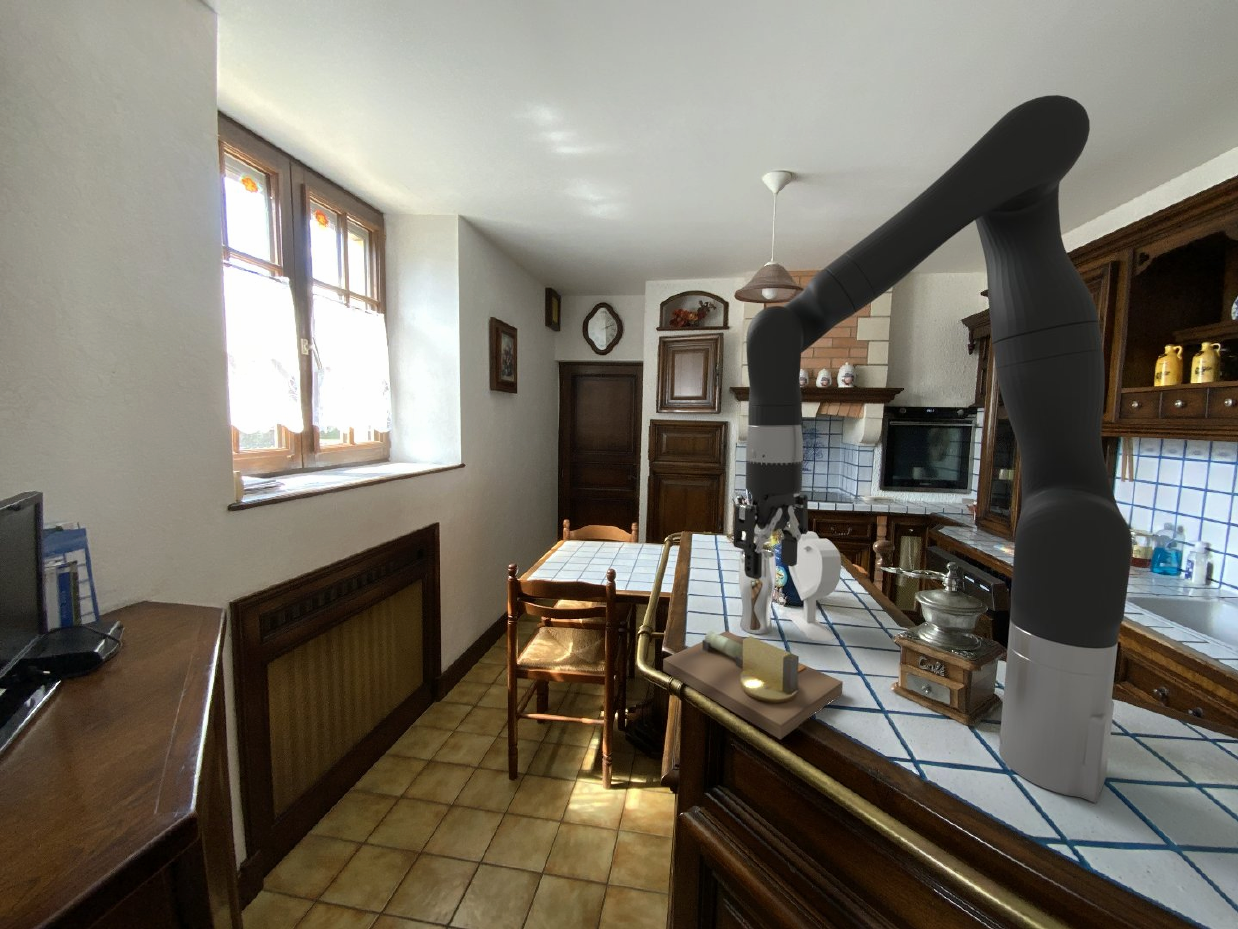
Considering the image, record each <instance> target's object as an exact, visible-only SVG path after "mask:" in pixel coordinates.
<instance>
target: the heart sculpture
mask: <svg viewBox="0 0 1238 929" xmlns="http://www.w3.org/2000/svg"><path fill="white" fill-rule="evenodd" d="M841 557H842V556H841V553H840V552H839V550H838V549H837V547H836V546H835V544H834V543H833V542H832V541H831V540H829V539H828V538H820V537H819V536H818V534H817V533H816V532H814V531H809V530H808V532H807V534H802V535H801V538H800V540H799V541H798V546H797V564H796V565H795V566H788V569H789V570H788V571H789V573H790V577H791V579H792V582H793V584H794V586H795V588H796V591H797V593H798V596H799V597H800V600H801V601H803V610H802V611H801V610H791V611H788V612H785V613H784V614H785V615H786V616H787V617H788V618H789V619H790V620H791V621H792V622H793V623H794V624H795V626H796V627H798V628H799V629H800V630H801V631H802V632H803V634H805V635H806V636H807V637H808V638H809V639H810V640H813V641H821V642H828V641H832V640H835V639H837V637H836V636H835V635H834V634H833V633H832V632H830V631H829V629H827V628H826V627H825V626H824V625H823V624H822V623H821V622H819V621H818V620H817V619H816V618H817V616H816V615H817V601H819V600H821V599H822V598H826V597H828V596H829V595H830V594H832V593H833V592H834V591H835V590H836V589H837V586H838V584H839V583H840V580H841V579H840V577H841V570H842V559H841Z"/></svg>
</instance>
